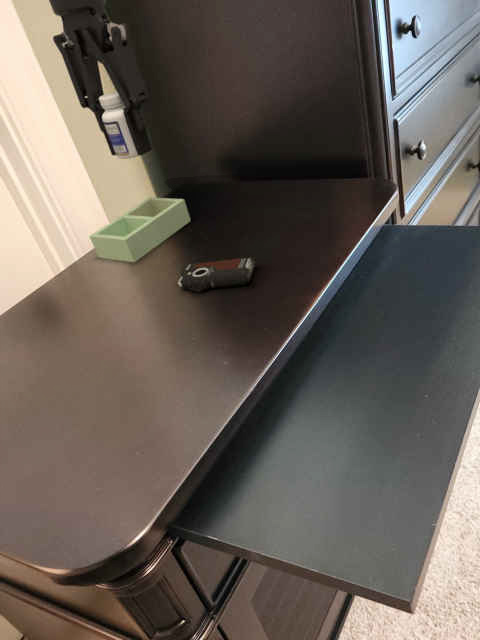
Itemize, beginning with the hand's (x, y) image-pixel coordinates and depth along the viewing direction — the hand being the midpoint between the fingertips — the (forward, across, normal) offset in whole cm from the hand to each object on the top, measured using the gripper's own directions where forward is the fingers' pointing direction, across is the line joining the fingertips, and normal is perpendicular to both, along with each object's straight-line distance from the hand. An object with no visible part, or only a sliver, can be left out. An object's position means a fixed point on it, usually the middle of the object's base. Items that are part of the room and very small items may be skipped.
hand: (131, 152), depth 87 cm
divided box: (+14, 0, +4) cm, 14 cm away
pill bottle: (0, 0, 0) cm, 0 cm away
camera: (+14, -23, +14) cm, 30 cm away
